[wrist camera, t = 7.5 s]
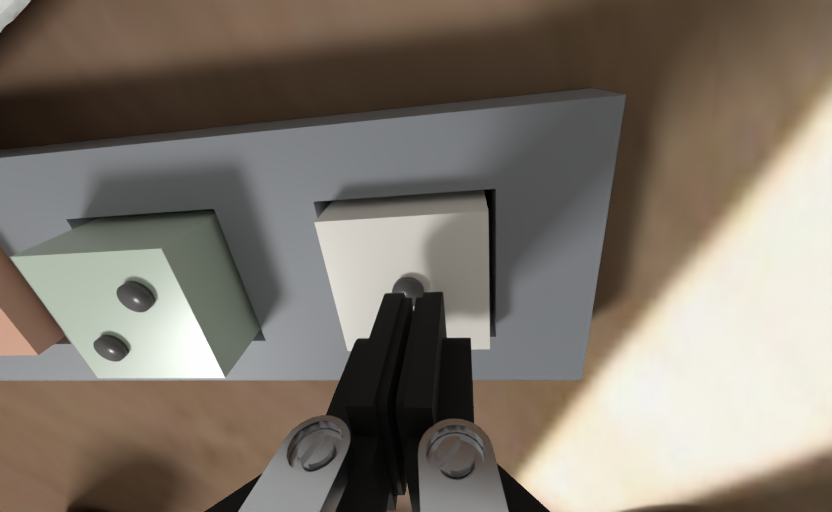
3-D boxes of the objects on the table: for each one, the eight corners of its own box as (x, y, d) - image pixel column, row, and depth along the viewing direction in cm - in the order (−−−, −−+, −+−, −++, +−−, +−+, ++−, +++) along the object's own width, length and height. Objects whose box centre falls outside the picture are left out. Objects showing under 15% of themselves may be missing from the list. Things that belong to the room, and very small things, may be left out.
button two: (222, 209, 13) (155, 251, 10) (265, 322, 15) (221, 383, 12) (98, 218, 13) (2, 260, 10) (158, 324, 16) (93, 382, 13)
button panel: (592, 87, 11) (626, 94, 9) (564, 335, 16) (581, 379, 14) (-155, 165, 15) (-257, 183, 13) (-1, 345, 20) (-57, 380, 18)
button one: (481, 179, 12) (488, 213, 10) (483, 298, 15) (490, 353, 12) (342, 189, 13) (311, 224, 10) (365, 301, 15) (345, 355, 13)
